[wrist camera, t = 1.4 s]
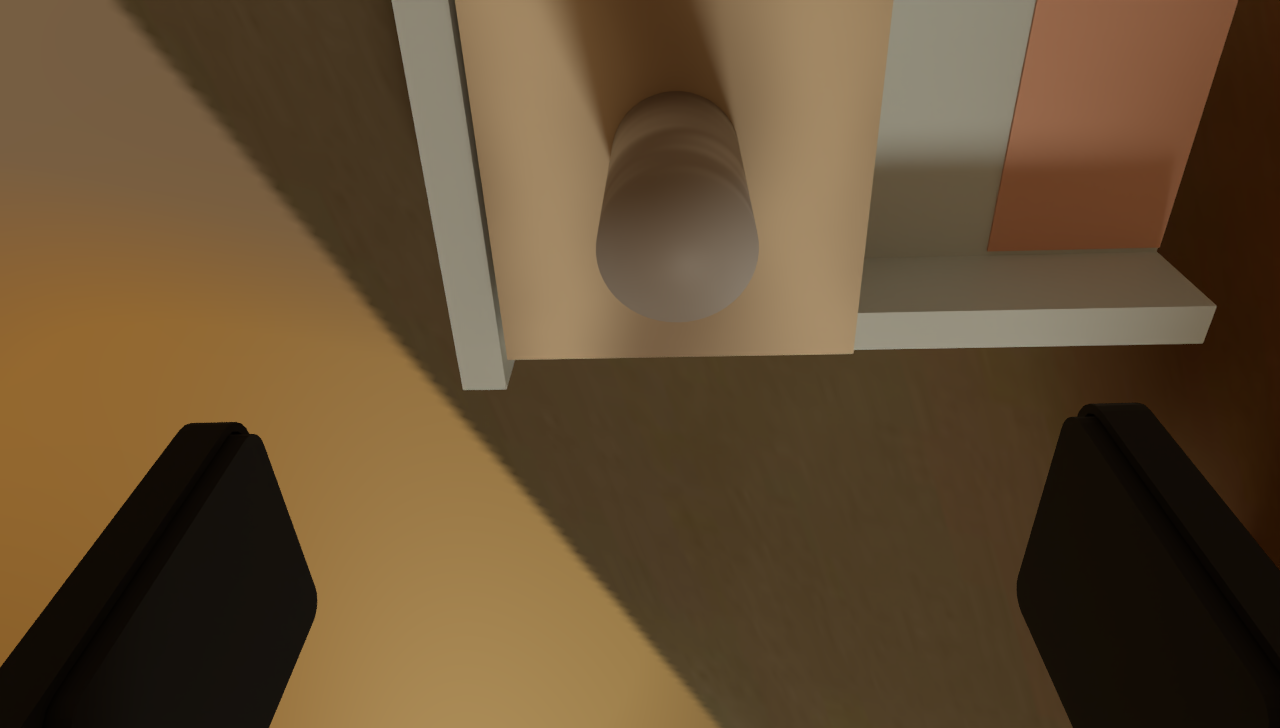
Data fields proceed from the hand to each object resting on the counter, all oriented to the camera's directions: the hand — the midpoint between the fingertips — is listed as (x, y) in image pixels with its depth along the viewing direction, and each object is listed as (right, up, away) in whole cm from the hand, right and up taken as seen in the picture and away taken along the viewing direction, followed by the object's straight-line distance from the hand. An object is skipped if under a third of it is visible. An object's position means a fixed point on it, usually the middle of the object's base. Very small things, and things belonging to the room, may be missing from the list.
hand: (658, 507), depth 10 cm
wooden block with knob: (+1, +11, +17) cm, 20 cm away
